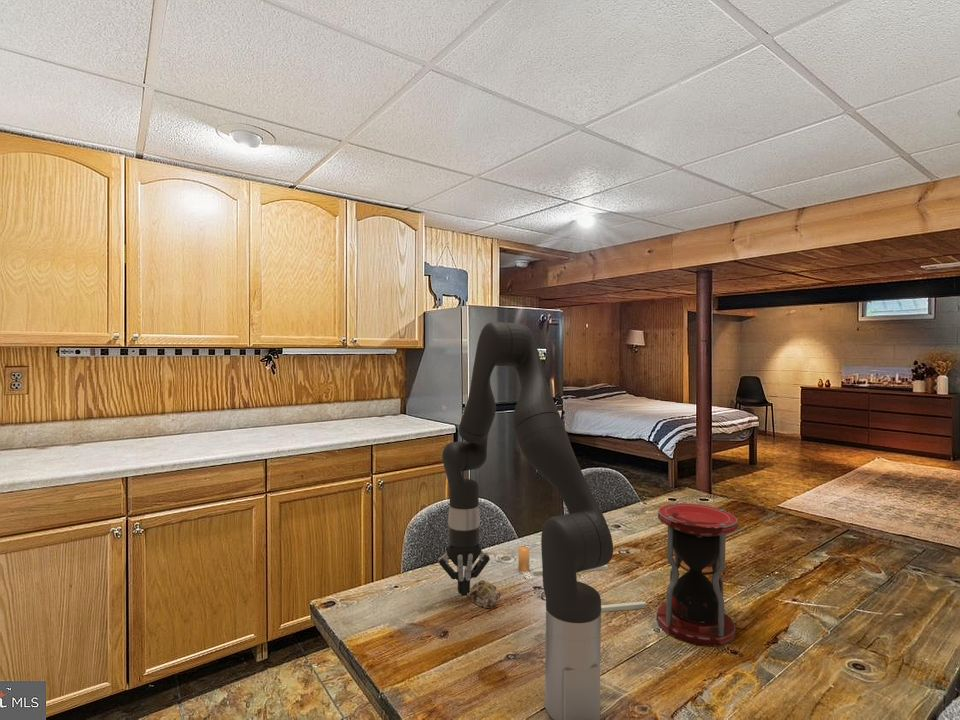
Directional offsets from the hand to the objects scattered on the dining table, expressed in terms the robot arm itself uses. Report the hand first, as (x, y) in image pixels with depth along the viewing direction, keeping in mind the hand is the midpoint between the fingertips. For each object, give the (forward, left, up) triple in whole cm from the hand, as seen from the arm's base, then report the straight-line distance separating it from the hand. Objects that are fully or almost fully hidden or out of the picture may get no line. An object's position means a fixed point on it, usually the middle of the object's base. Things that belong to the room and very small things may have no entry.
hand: (463, 594), depth 124 cm
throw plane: (0, -29, -1) cm, 29 cm away
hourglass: (-20, -49, -2) cm, 53 cm away
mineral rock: (0, -5, -2) cm, 5 cm away
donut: (+8, -67, -2) cm, 68 cm away
